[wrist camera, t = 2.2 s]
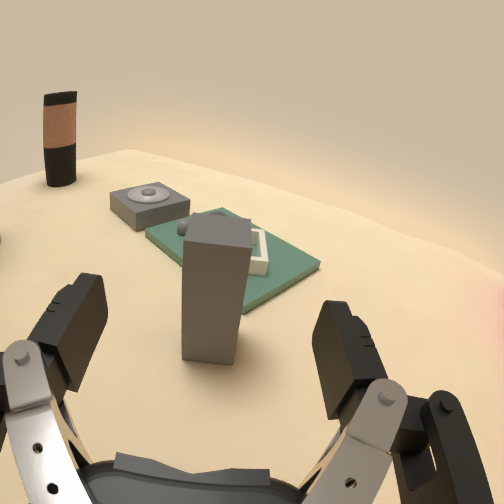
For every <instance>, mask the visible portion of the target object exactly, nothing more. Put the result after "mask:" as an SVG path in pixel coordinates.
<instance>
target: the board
mask: <svg viewBox="0 0 504 504" xmlns="http://www.w3.org/2000/svg"><path fill="white" fill-rule="evenodd" d="M203 214H211V215H220V216H229V217H237V218H241V217H239V216H238V215H236V214H234V213H232V212H230V211H228V210H226V209H225V208H223V207H222V208H218V209H214V210H211V211H207V212H203ZM191 217H192V216H188V217H184V218H181V219H177V220H174V221H170V222H166V223H163V224H159V225H156V226H152V227H149V228H146V229H145V236H146V237H147V238H148V239H149V240H150V241H152V242H153V243H154V244H155V245H156V246H158V247H159V248H160V249H161V250H162V251H164V252H165V253H166V254H167V255H168V256H170V257H171V258H172V259H173V260H174V261H176V262H177V263H178V264H179V265H180V266H182V264H183V240H184V237H185V234H186V231H187V228H188V225H189V223H190V220H191ZM251 230H252V247H253V249H252V255H251V260H250V266H249V272H248V278H247V284H246V289H245V295H244V301H243V307H242V312H241V314H242V315H243V314H244V313H246V312H248V311H249V310H251V309H253V308H255V307H256V306H258V305H260V304H261V303H263V302H265V301H266V300H268V299H270V298H271V297H273V296H275V295H276V294H278V293H280V292H281V291H283V290H285V289H286V288H288V287H290V286H291V285H293V284H294V283H296V282H298V281H299V280H301V279H303V278H304V277H306V276H307V275H309V274H311V273H312V272H314V271H315V270H317V269H319V266H320V262H321V261H319V260H318V259H316V258H314V257H312V256H310V255H309V254H307V253H305V252H303V251H301V250H300V249H298V248H296V247H294V246H292V245H291V244H289V243H287V242H285V241H283V240H282V239H280V238H278V237H276V236H274V235H273V234H271V233H269V232H267V231H265V230H263V229H262V228H260V227H258V226H256V225H254V224H252V223H251Z"/></svg>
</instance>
